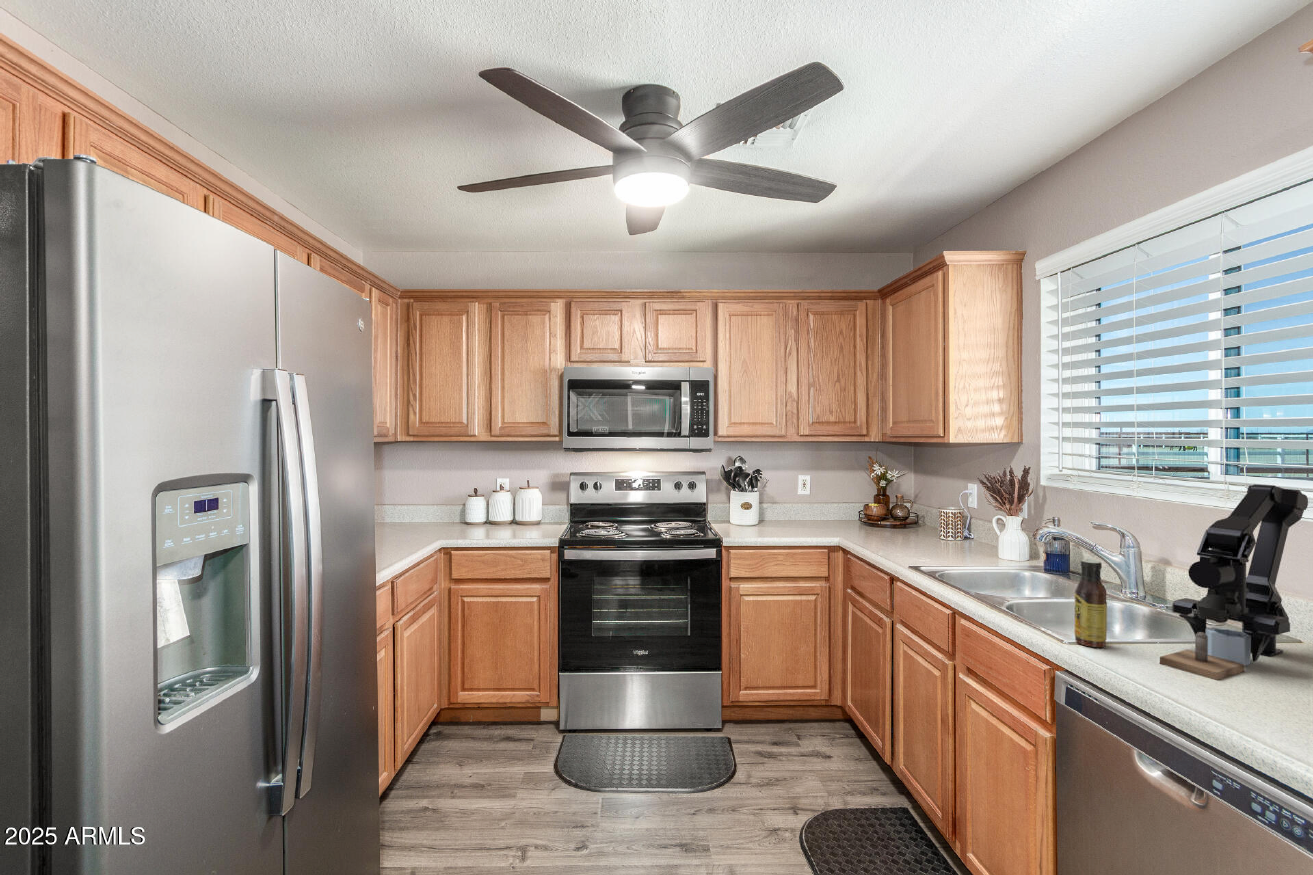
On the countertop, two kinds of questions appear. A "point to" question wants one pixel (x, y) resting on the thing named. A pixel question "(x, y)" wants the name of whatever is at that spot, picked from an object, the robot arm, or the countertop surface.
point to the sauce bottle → (1090, 606)
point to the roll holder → (1202, 661)
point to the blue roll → (1229, 645)
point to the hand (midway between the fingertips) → (1227, 654)
